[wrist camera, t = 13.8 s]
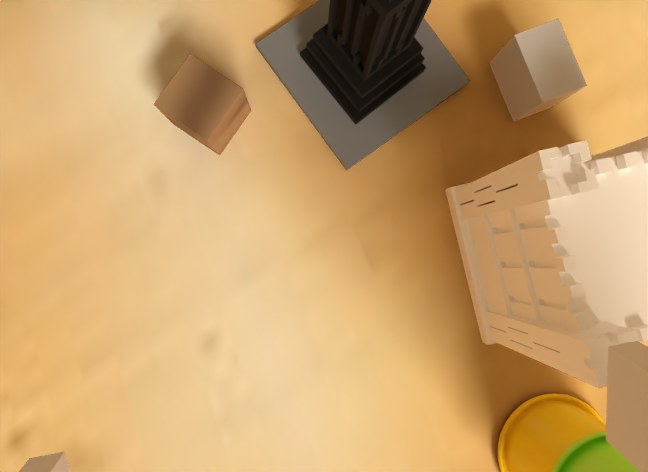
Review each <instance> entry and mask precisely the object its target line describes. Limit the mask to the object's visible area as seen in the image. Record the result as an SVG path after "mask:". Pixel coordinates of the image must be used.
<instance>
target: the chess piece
mask: <svg viewBox="0 0 648 472" xmlns="http://www.w3.org/2000/svg"><path fill="white" fill-rule="evenodd" d="M430 2H431V0H330V5H329V17H328V23H327V24H326V25H325V26H323V27H322V28H321V29H319V30H318V31H317V32H316V33H314V34H313V39H312V40H310V41H309V42H308V43H306V48H305V49H303V50H302V51H301V52H300V57H301V58H302V59H303V60H304V62H305V63H306V64H307V65H308V67H309V68H310V69H311V70H312V71H313V73H314V74H315V75H316V76H317V78H318V79H319V80H320V81H321V83H322V84H323V85H324V86H325V87H326V89H327V90H328V91H329V92H330V94H331V95H332V96H333V97H334V99H335V100H336V101H337V102H338V104H339V105H340V106H341V107H342V108H343V110H344V111H345V112H346V113H347V115H348V116H349V117H350V118H351V120H352V121H353V122H354V123H355V125H356V124H358V123H359V122H360V121H361V120H363V119H364V118H365V117H366V116H368V115H369V114H370V113H372V112H373V111H374V110H375V109H377V108H378V107H379V106H381V105H382V104H383V103H384V102H386V101H387V100H388V99H389V98H391V97H392V96H393V95H395V94H396V93H397V92H398V91H400V90H401V89H402V88H403V87H405V86H406V85H407V84H409V83H410V82H411V81H412V80H414V79H415V78H416V77H418V76H419V75H420V74H421V73H423V72H424V70H425V69H426V67H425V66H424V64H423V63H422V62H423V61H424V59H425V58H424V57H423V55H422V54H421V52H422V50H423V47H422V46H421V45H420V43H419V42H418V41H417V40H416V38H415V37H414V36H415V34H416V32H417V30H418V28H419V26H420V24H421V21H422V19H423V17H424V15H425V13H426V11H427V9H428V7H429V5H430Z"/></svg>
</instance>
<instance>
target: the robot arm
mask: <svg viewBox="0 0 648 472" xmlns="http://www.w3.org/2000/svg"><path fill="white" fill-rule="evenodd" d="M606 441H607V442H608V443H610V444H611V445H612V446H613V447H614V448H615V449H616V450H617V451H618V452H619V453H620V454H621V455H622V456H623V457H625V458H626V459H627V460H628V461H629V462H630V463H631V464H632V465H633V466H634V467H635V468H636V469H637V470H639V471H640V472H648V347H647V346H645V345H643V344H642V343H640V342H638V341H635V342H629V343H624V344H619V345H614V346H609V347H608V378H607V416H606ZM19 472H71V469H70V466H69V463H68V461H67V458H66V455H65V452H61V453H55V454H50V455H45V456H40V457H35V458H29V460H28V461H27V462H26V464H25V465H24V466H23V468H22V469H21V470H20V471H19Z"/></svg>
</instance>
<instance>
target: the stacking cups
mask: <svg viewBox="0 0 648 472" xmlns="http://www.w3.org/2000/svg"><path fill="white" fill-rule="evenodd" d="M498 462H499V467H500V471H501V472H640V471H639V470H637V469H636V468H635V467H634V466H633V465H632V464H631V463H630V462H629V461H628V460H627V459H626V458H625V457H623V456H622V455H621V454H620V453H619V452H618V451H617V450H616V449H615V448H614V447H613V446H612V445H611V444H610V443H608V442H607V441H606V424H605V423H604V422H603V420H602V419H601V417H600V416H599V415H598V413H597V412H596V411H595V410H594V409H593V408H591V407H590V406H589V405H588V404H586V403H585V402H583V401H581V400H579V399H577V398H575V397H572V396H569V395H565V394H545V395H540V396H536V397H534V398H531V399H530V400H528V401H526V402H524V403H523V404H521V405H520V406H519V407H518V408H517V409H516V410H515V411H514V412H513V413H512V414H511V415H510V416H509V418H508V419H507V421H506V423H505V425H504V427H503V429H502V431H501V434H500V438H499V442H498Z"/></svg>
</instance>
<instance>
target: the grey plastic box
mask: <svg viewBox="0 0 648 472" xmlns="http://www.w3.org/2000/svg"><path fill="white" fill-rule="evenodd" d="M489 64H490V67H491V69H492V72H493V74H494V77H495V79H496V81H497V84H498V86H499V89H500V91H501V93H502V96H503V98H504V101H505V103H506V106H507V108H508V110H509V113H510V115H511V118H512V120H513V122H515V121H517V120H520V119H522V118H525V117H528V116H530V115H533V114H535V113H538V112H541V111H543V110H546V109H549V108H551V107H553V106H555V105H556V104H558V103H560V102H561V101H563V100H564V99H566V98H567V97H569V96H571V95H572V94H574V93H575V92H577V91H579V90H580V89H582V88H583V87H585V86H587V85H586V82H585V80H584V77H583V75H582V73H581V70H580V68H579V66H578V63H577V61H576V59H575V56H574V54H573V51H572V49H571V47H570V44H569V42H568V40H567V37H566V35H565V33H564V30H563V28H562V25H561V23H560V21H559V18H558V19H556V20H553V21H550V22H548V23H545V24H542V25H540V26H537V27H534V28H531V29H529V30H526V31H523V32H521V33H518V34H515V35H514V36H513V37H512V38H511V39H510V40H509V41H508V42H507V43H506V45H505V46H504V47H503V48H502V49H501V50H500V51H499V52H498V53H497V54H496V56H495V57H494V58H493V59H492V60H491V61H490V62H489Z"/></svg>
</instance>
